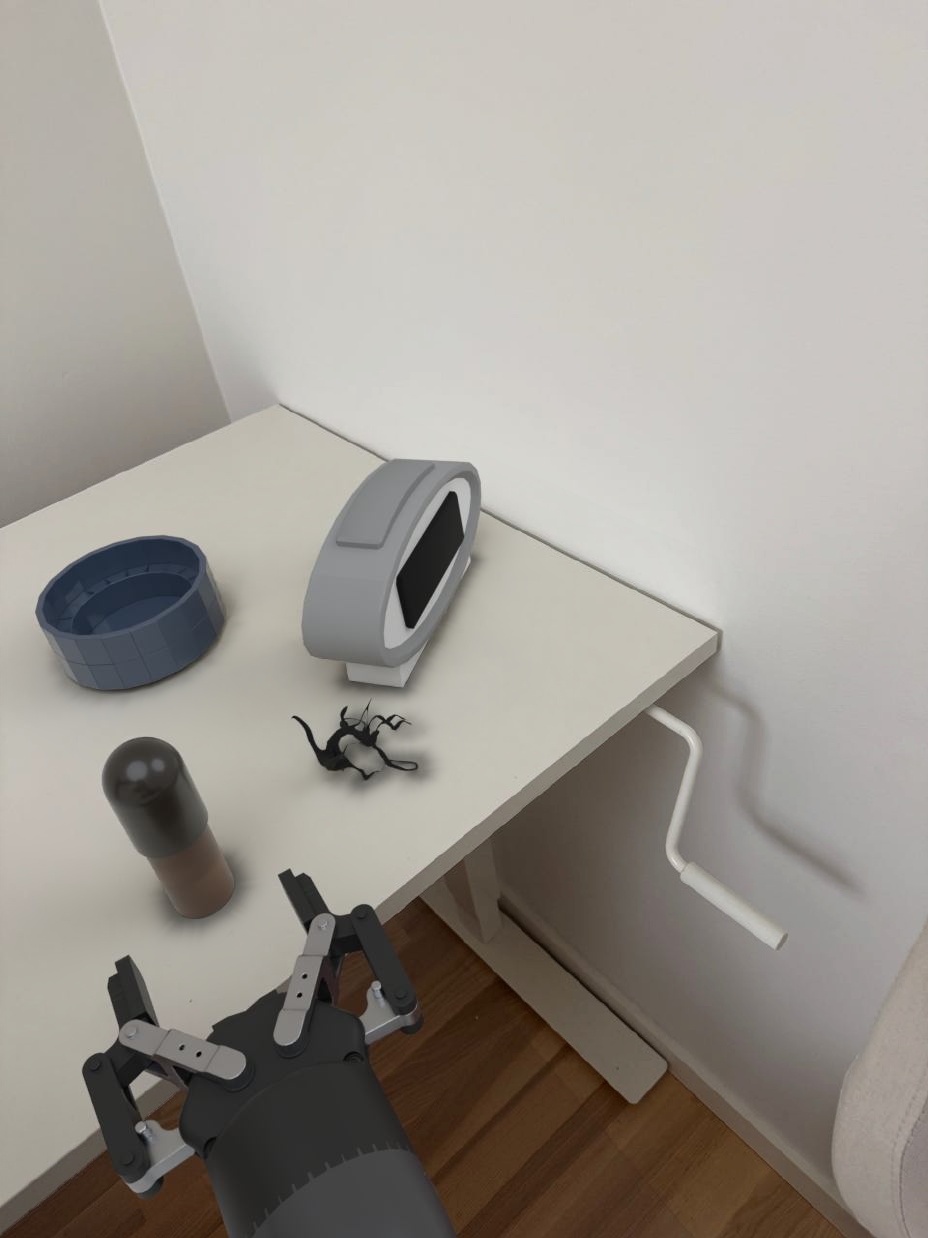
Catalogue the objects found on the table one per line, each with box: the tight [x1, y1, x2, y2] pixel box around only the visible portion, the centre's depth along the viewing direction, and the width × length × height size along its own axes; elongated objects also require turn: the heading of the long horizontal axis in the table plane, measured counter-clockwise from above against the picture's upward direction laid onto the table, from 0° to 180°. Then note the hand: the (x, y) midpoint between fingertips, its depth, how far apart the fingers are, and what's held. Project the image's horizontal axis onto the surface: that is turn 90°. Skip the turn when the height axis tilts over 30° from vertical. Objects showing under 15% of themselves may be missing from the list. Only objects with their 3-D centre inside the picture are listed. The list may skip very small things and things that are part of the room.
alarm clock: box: [300, 458, 482, 688], centre depth 76 cm, size 23×6×13 cm, turn 161°
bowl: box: [34, 534, 226, 691], centre depth 82 cm, size 14×14×6 cm
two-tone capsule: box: [101, 736, 236, 919], centre depth 57 cm, size 5×5×13 cm
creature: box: [290, 697, 419, 781], centre depth 67 cm, size 8×5×8 cm
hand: (209, 923), depth 48 cm, fingers open, 8 cm apart
